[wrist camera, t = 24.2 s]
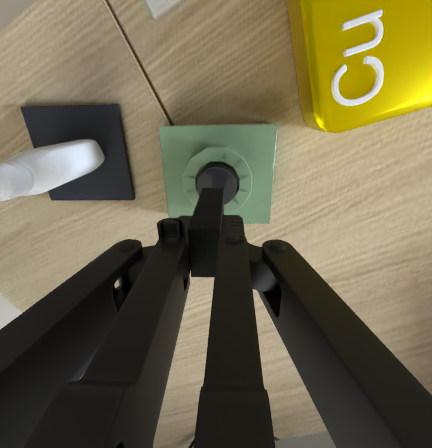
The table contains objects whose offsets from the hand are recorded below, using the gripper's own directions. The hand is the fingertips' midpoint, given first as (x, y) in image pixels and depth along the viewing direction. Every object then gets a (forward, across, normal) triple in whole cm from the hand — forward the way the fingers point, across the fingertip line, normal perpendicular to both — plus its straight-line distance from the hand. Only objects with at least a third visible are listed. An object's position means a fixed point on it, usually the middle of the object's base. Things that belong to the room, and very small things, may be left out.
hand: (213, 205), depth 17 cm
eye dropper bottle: (+10, -15, +2) cm, 18 cm away
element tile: (+11, +14, +13) cm, 22 cm away
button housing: (+10, 0, 0) cm, 10 cm away
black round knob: (+6, 0, 0) cm, 6 cm away
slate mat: (+10, -15, +2) cm, 18 cm away
